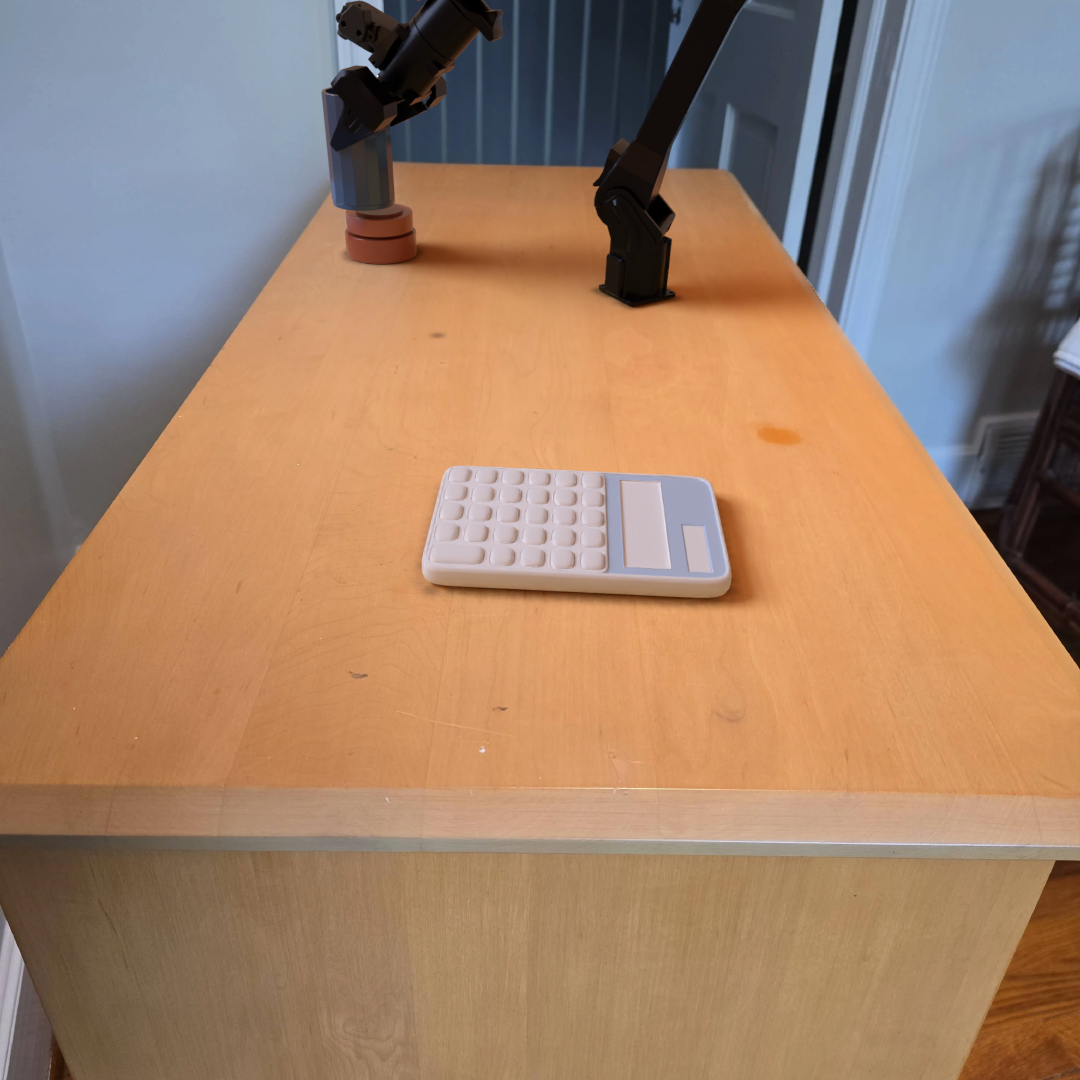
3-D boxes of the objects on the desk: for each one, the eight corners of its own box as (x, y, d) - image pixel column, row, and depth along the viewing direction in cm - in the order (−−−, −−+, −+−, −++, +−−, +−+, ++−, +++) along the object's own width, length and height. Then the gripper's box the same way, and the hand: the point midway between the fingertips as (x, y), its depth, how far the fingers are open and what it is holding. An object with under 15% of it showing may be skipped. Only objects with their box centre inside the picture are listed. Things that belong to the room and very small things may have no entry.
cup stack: (398, 239, 121) (395, 196, 118) (428, 257, 115) (427, 212, 112) (335, 248, 117) (331, 204, 114) (364, 268, 111) (360, 222, 108)
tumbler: (404, 206, 108) (398, 93, 102) (345, 213, 105) (334, 97, 99) (381, 192, 114) (373, 83, 107) (324, 198, 111) (312, 87, 104)
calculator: (445, 481, 71) (444, 459, 70) (709, 493, 70) (713, 471, 69) (419, 587, 60) (417, 563, 59) (732, 602, 59) (736, 578, 58)
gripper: (416, -33, 103) (335, 71, 112) (339, -24, 88) (253, 95, 97) (484, 51, 106) (400, 147, 114) (421, 74, 91) (330, 182, 99)
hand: (348, 141), depth 106 cm, fingers closed on tumbler, 7 cm apart
